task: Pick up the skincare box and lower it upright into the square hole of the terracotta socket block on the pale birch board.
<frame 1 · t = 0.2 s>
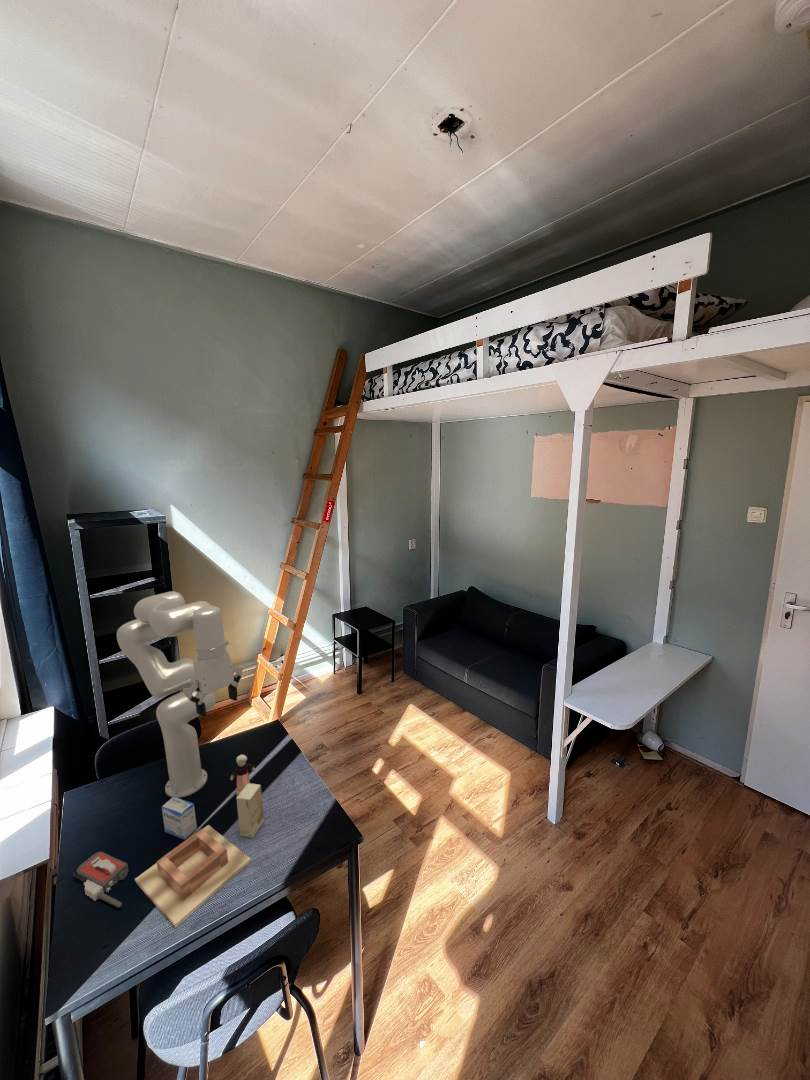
hand: (218, 707, 124), 36 cm above the table, tool pointing down, fingers open, 9 cm apart
grandmother figurine: (245, 790, 141), on the table
socket stand: (194, 871, 113), on the table
medicine box: (181, 831, 126), on the table
skincare box: (252, 828, 126), on the table
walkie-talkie: (107, 884, 111), on the table
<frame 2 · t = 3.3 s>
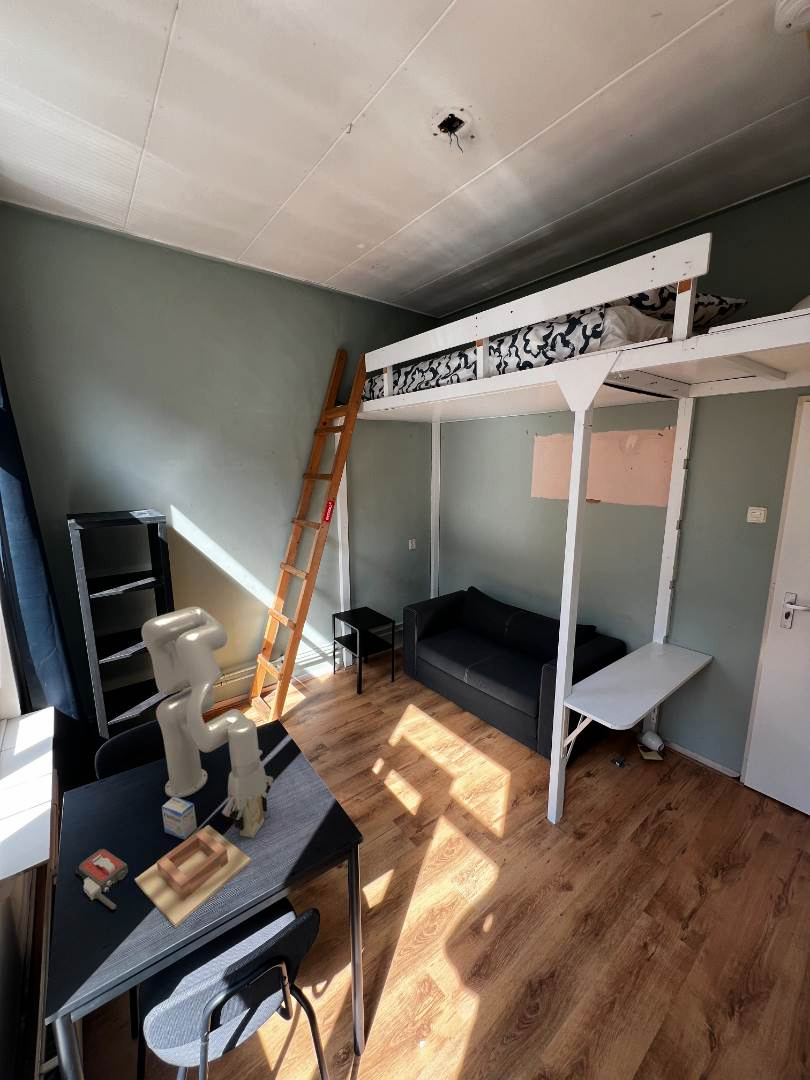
hand: (251, 818, 125), 3 cm above the table, tool pointing down, fingers closed on skincare box, 7 cm apart
skincare box: (252, 828, 126), on the table, touching gripper
when the fingers open (6 cm above the table, at t = 10.1 s): skincare box drops 1 cm, resting on socket stand.
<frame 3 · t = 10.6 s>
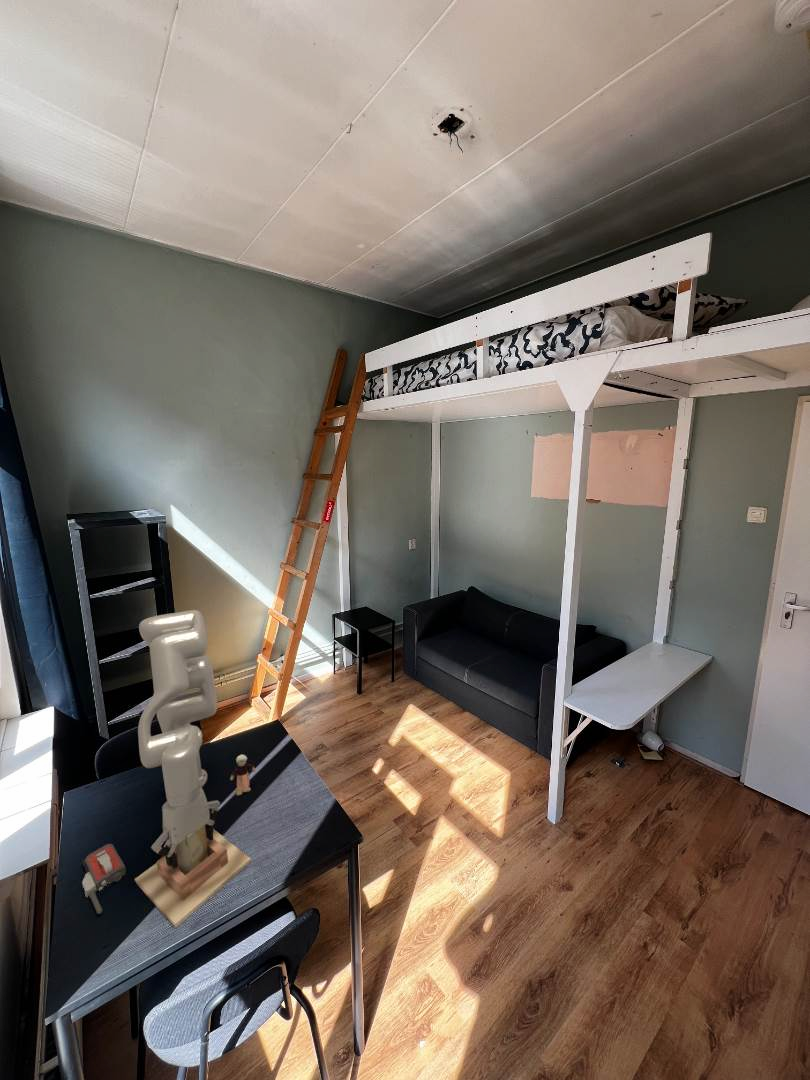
hand: (191, 851, 112), 6 cm above the table, tool pointing down, fingers open, 9 cm apart
skincare box: (195, 867, 113), point 1 cm above the table, touching socket stand
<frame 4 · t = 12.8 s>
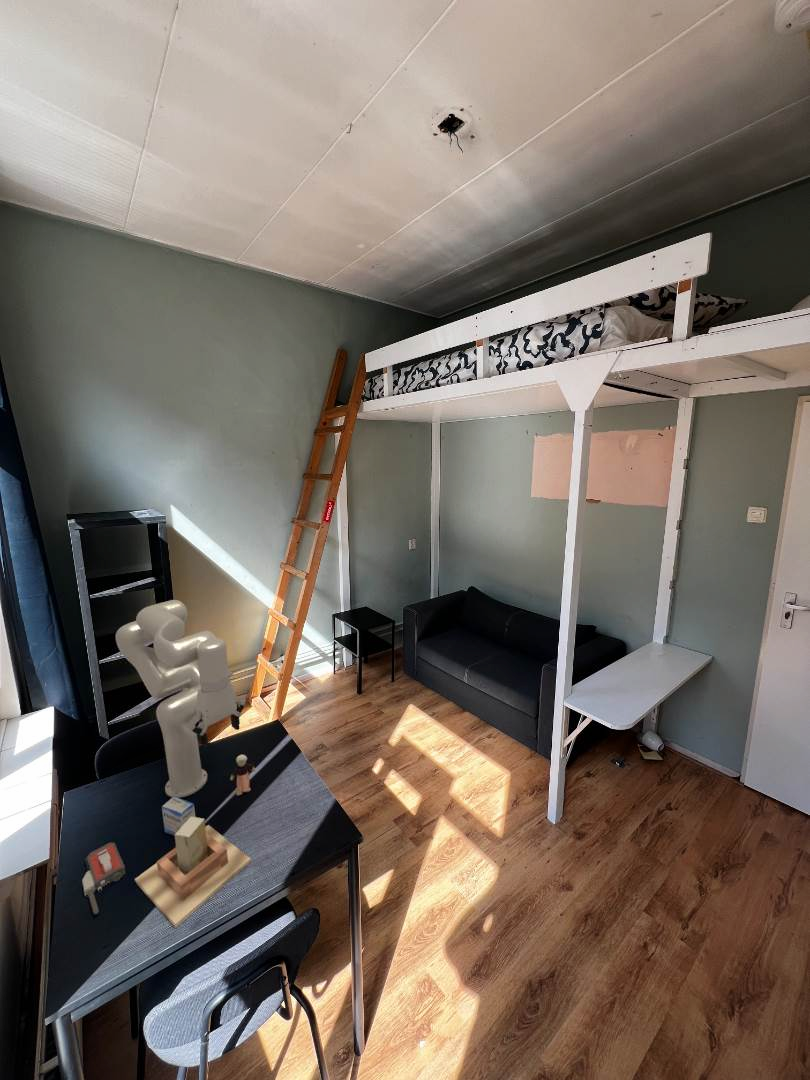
hand: (220, 736, 126), 26 cm above the table, tool pointing down, fingers open, 9 cm apart
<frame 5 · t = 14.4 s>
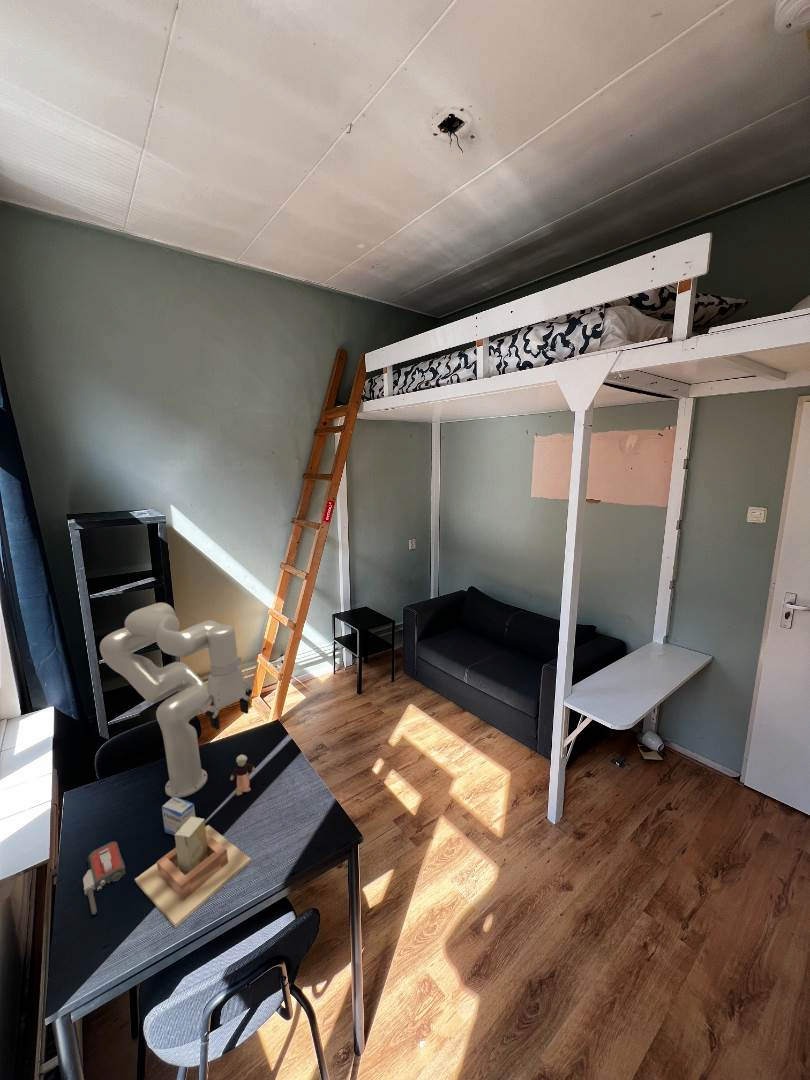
hand: (230, 719, 131), 28 cm above the table, tool pointing down, fingers open, 9 cm apart
at the end: skincare box 0.4 cm off-centre on the socket stand, point 0.8 cm above the socket stand's base; skincare box tilted 0°; the gripper is holding nothing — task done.
